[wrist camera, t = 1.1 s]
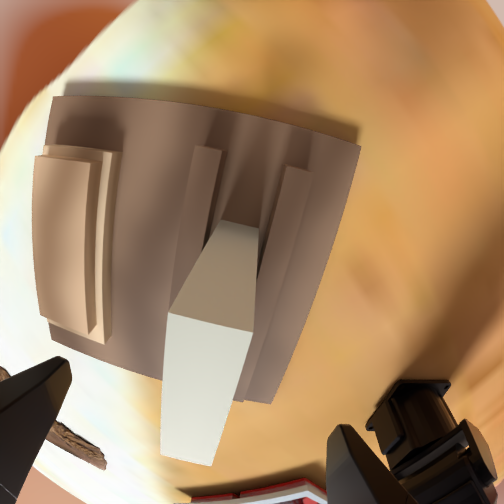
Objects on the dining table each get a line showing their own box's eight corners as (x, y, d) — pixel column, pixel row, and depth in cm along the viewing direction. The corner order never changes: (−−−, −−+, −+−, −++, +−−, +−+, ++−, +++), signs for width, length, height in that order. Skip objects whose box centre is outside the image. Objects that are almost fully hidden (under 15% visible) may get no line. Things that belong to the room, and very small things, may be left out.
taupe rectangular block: (258, 228, 15) (253, 332, 7) (231, 337, 17) (211, 466, 9) (220, 219, 15) (167, 312, 6) (199, 330, 17) (160, 454, 9)
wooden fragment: (125, 462, 27) (122, 468, 26) (93, 470, 30) (91, 474, 29) (-27, 322, 21) (-32, 327, 20) (-32, 355, 24) (-36, 359, 23)
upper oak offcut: (102, 161, 13) (90, 163, 12) (96, 324, 16) (88, 335, 15) (48, 154, 13) (35, 156, 12) (49, 306, 16) (40, 315, 15)
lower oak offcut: (122, 152, 14) (112, 152, 13) (111, 334, 18) (104, 344, 17) (55, 144, 14) (43, 145, 12) (55, 313, 18) (47, 321, 16)
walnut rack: (355, 146, 14) (375, 146, 11) (270, 394, 20) (271, 424, 17) (62, 97, 13) (33, 93, 11) (57, 333, 20) (39, 353, 17)
